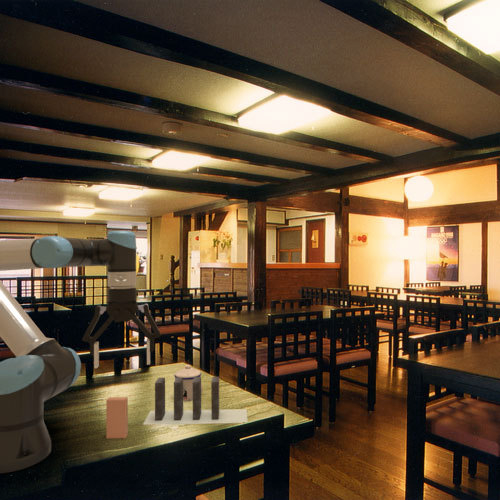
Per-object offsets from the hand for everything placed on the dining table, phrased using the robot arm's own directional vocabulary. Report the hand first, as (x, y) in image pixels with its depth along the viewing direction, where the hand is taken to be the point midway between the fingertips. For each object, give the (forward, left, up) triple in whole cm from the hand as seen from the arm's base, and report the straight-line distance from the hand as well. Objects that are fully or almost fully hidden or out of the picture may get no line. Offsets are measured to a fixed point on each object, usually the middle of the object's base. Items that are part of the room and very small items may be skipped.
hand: (122, 365), depth 106 cm
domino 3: (+14, +10, -18) cm, 25 cm away
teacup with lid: (+15, +26, -20) cm, 36 cm away
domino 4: (+19, +10, -18) cm, 28 cm away
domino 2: (+8, +10, -18) cm, 22 cm away
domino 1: (-1, -2, -19) cm, 20 cm away
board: (+19, +10, -19) cm, 29 cm away
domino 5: (+25, +10, -18) cm, 32 cm away
